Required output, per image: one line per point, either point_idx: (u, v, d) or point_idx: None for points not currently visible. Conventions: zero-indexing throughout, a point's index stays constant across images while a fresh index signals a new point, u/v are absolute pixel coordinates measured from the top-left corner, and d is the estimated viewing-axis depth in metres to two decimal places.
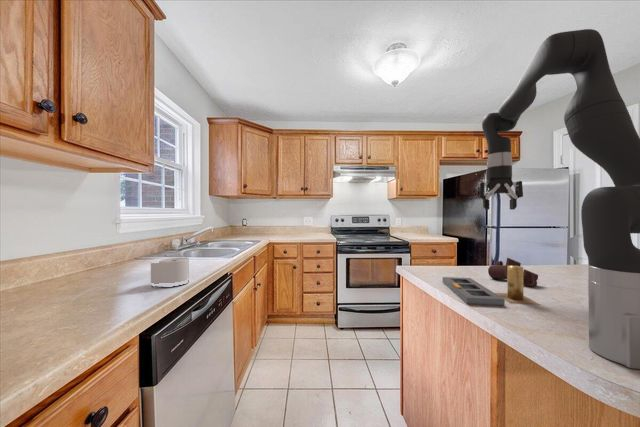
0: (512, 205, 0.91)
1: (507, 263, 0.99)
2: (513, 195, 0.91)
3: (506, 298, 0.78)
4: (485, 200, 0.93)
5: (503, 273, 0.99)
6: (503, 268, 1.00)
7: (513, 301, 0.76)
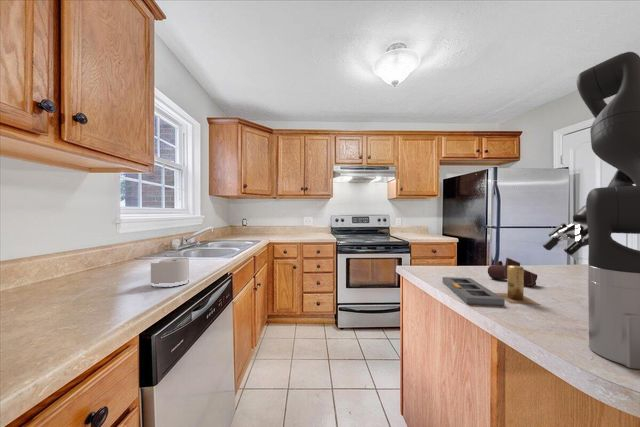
0: None
1: (506, 263, 0.99)
2: (577, 237, 0.72)
3: (506, 298, 0.78)
4: (550, 239, 0.81)
5: (502, 273, 0.99)
6: (502, 268, 1.00)
7: (513, 301, 0.76)
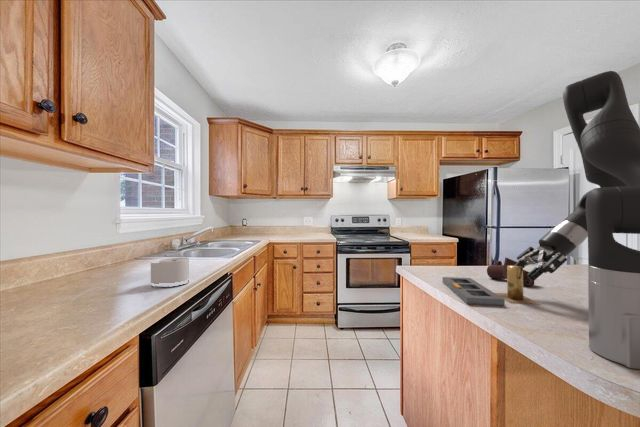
0: None
1: (505, 263, 0.99)
2: (539, 263, 0.74)
3: (506, 298, 0.78)
4: None
5: (501, 273, 1.00)
6: (501, 268, 1.00)
7: (513, 301, 0.76)
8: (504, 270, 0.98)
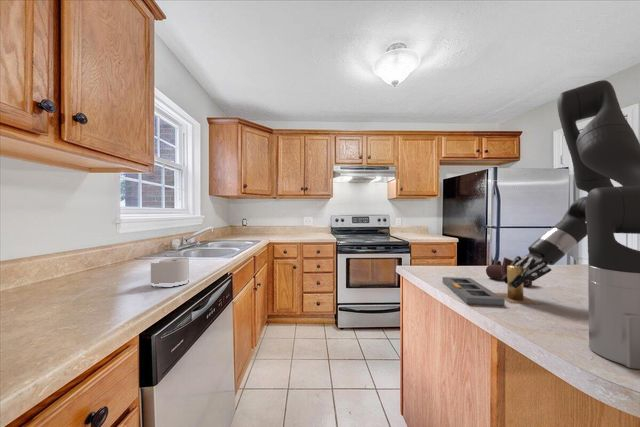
0: None
1: (504, 263, 0.99)
2: (522, 271, 0.76)
3: (506, 298, 0.78)
4: None
5: (500, 273, 1.00)
6: (500, 268, 1.01)
7: (513, 301, 0.76)
8: (502, 270, 0.99)
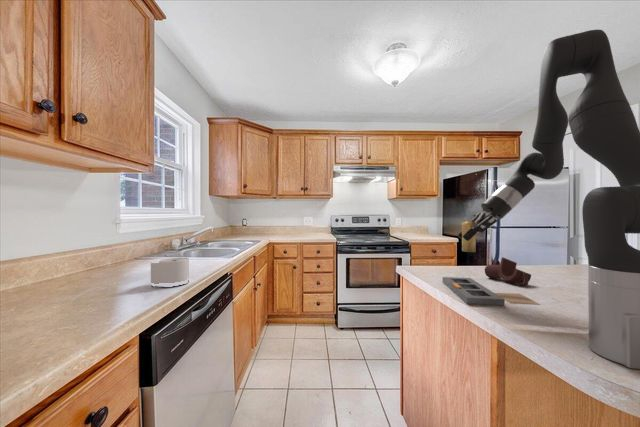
0: None
1: (501, 262, 1.00)
2: (474, 225, 0.82)
3: (506, 298, 0.78)
4: None
5: (497, 272, 1.01)
6: (498, 267, 1.01)
7: (513, 301, 0.76)
8: (500, 270, 0.99)
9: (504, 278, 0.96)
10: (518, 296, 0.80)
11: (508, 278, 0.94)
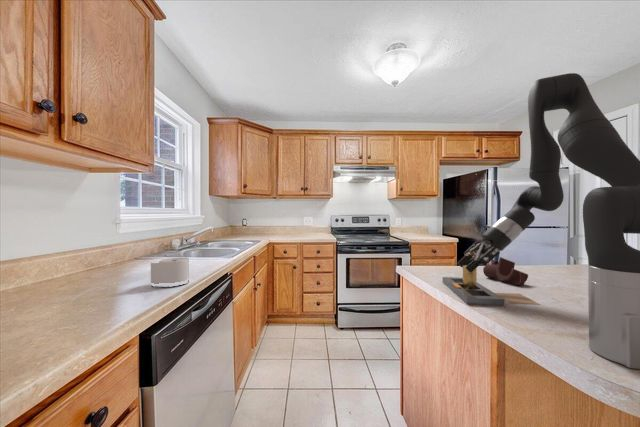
0: None
1: (499, 262, 1.00)
2: (476, 256, 0.81)
3: (506, 298, 0.78)
4: None
5: (495, 272, 1.01)
6: (496, 267, 1.02)
7: (513, 301, 0.76)
8: (497, 269, 1.00)
9: (501, 278, 0.96)
10: (518, 296, 0.80)
11: (505, 278, 0.95)
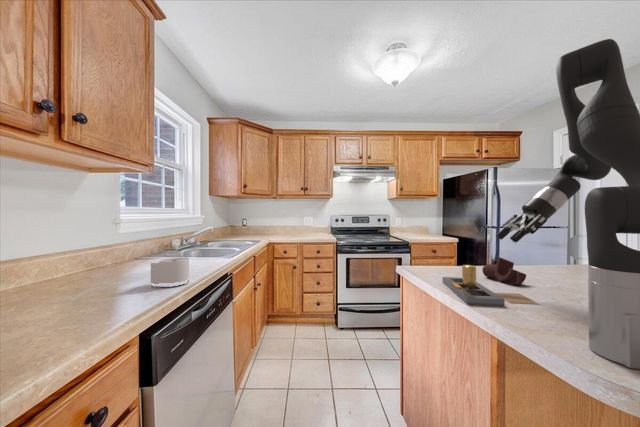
0: None
1: (498, 262, 1.01)
2: (521, 226, 0.78)
3: (506, 298, 0.78)
4: (503, 229, 0.87)
5: (494, 272, 1.01)
6: (494, 267, 1.02)
7: (513, 301, 0.76)
8: (496, 269, 1.00)
9: (499, 277, 0.97)
10: (518, 296, 0.80)
11: (503, 277, 0.95)
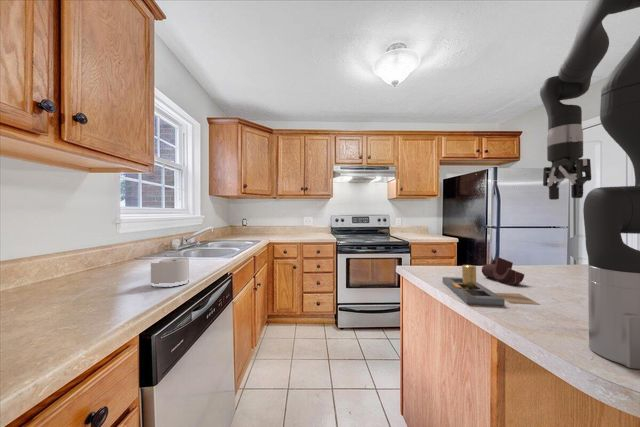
0: None
1: (496, 262, 1.01)
2: (571, 179, 0.69)
3: (506, 298, 0.78)
4: None
5: (492, 271, 1.02)
6: (493, 267, 1.02)
7: (513, 301, 0.76)
8: (494, 269, 1.00)
9: (497, 277, 0.97)
10: (518, 296, 0.80)
11: (501, 277, 0.96)
